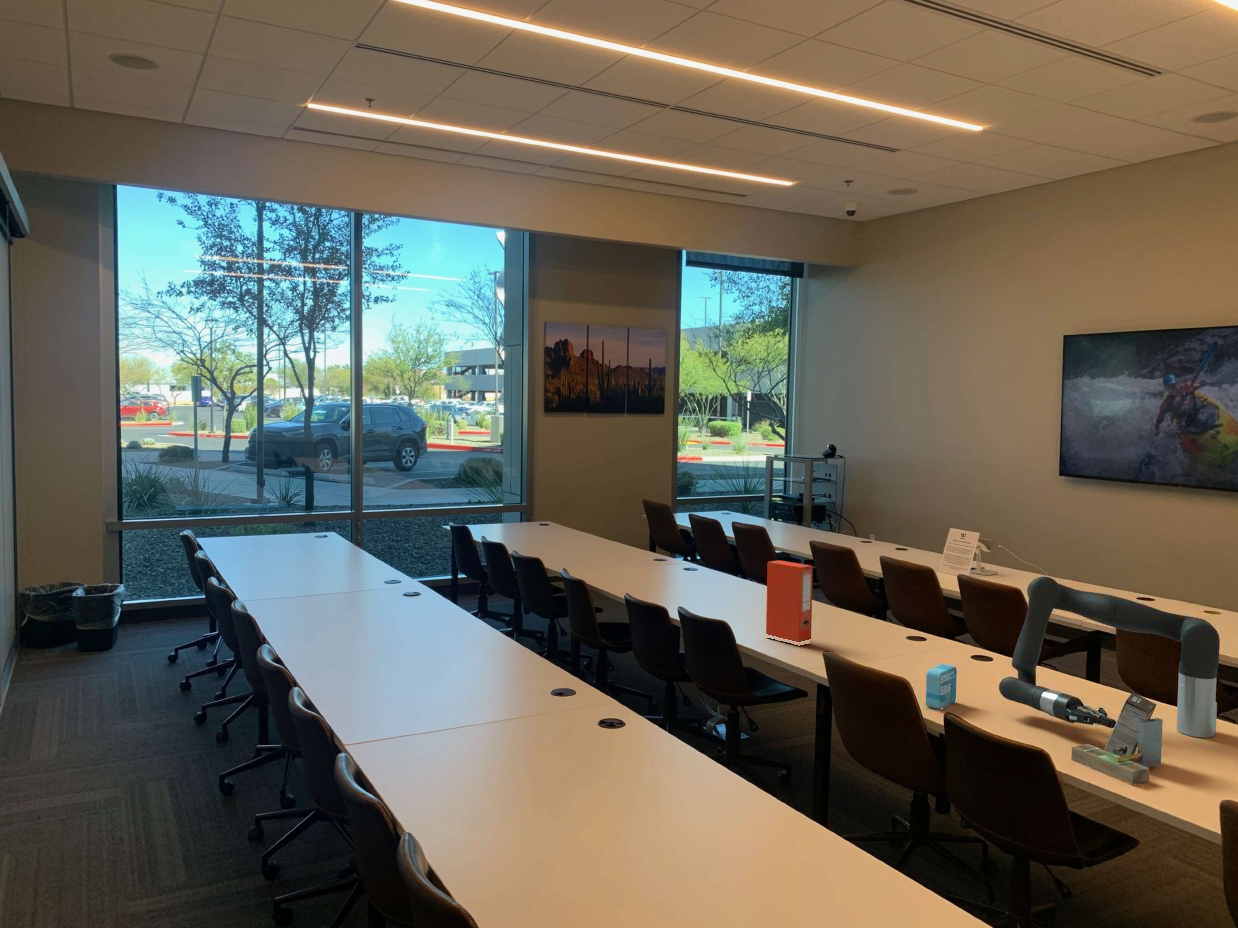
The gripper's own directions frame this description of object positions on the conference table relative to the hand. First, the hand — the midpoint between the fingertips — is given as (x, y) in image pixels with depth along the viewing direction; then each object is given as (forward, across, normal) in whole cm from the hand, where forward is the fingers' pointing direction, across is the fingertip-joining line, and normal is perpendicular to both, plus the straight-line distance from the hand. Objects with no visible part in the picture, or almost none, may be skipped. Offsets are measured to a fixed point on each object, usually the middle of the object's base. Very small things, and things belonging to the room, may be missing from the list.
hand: (1114, 724), depth 243 cm
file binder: (-138, -16, +8) cm, 139 cm away
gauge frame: (+7, -10, +9) cm, 15 cm away
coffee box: (+1, 0, +8) cm, 8 cm away
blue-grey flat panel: (+10, -4, +8) cm, 14 cm away
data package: (-51, -14, +8) cm, 53 cm away
